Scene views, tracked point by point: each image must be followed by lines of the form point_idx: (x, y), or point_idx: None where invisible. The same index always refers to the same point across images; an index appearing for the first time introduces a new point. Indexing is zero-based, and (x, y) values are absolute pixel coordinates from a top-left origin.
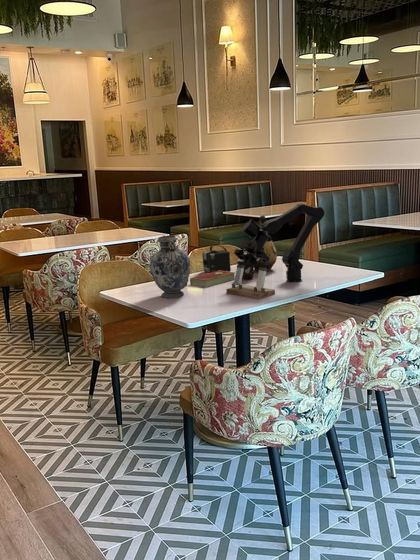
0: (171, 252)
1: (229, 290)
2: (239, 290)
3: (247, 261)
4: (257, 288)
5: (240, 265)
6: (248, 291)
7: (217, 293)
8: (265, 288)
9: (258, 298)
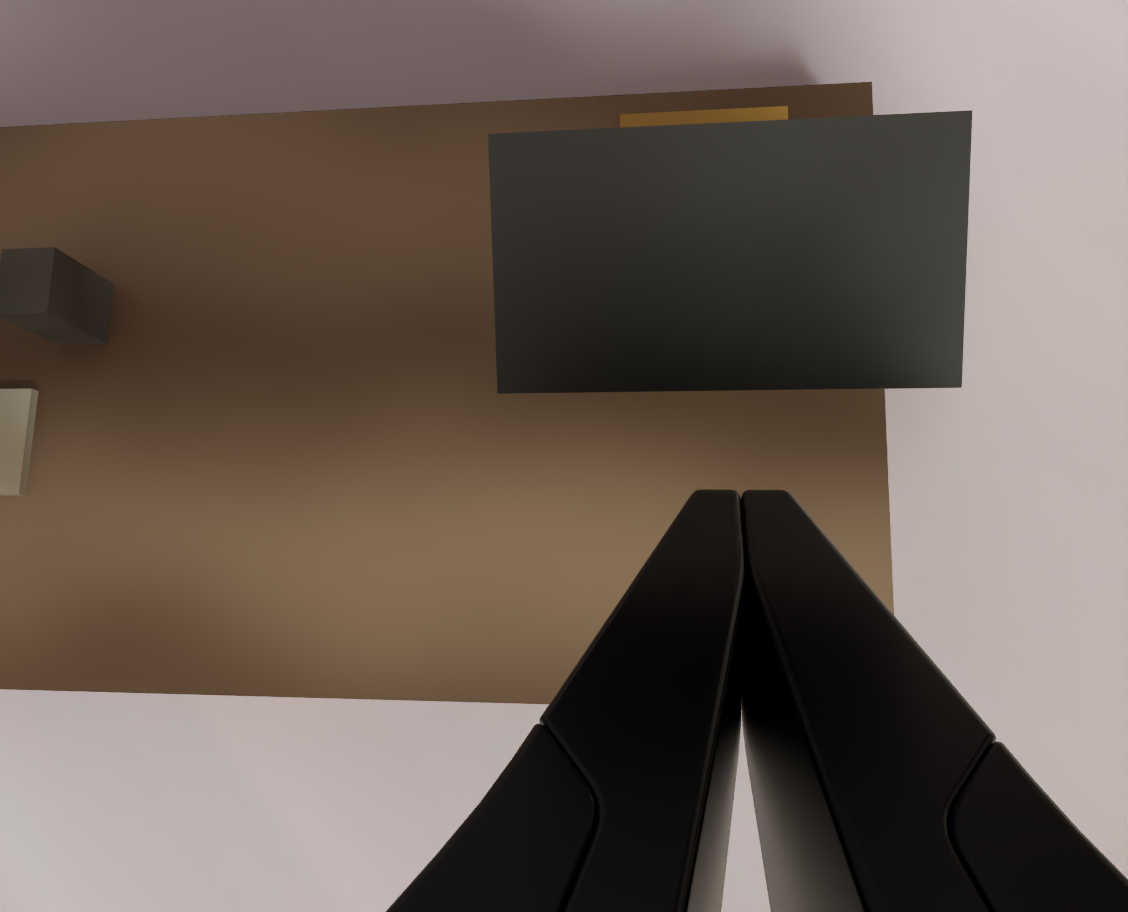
0: None
1: (755, 100)
2: (468, 163)
3: (576, 844)
4: (212, 549)
5: (627, 132)
6: (216, 213)
7: (1032, 14)
8: (36, 654)
9: None
